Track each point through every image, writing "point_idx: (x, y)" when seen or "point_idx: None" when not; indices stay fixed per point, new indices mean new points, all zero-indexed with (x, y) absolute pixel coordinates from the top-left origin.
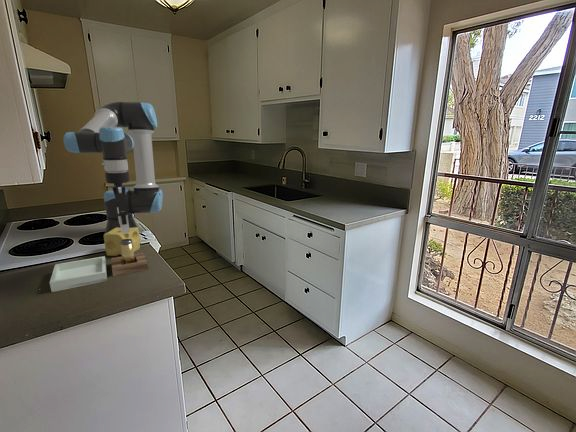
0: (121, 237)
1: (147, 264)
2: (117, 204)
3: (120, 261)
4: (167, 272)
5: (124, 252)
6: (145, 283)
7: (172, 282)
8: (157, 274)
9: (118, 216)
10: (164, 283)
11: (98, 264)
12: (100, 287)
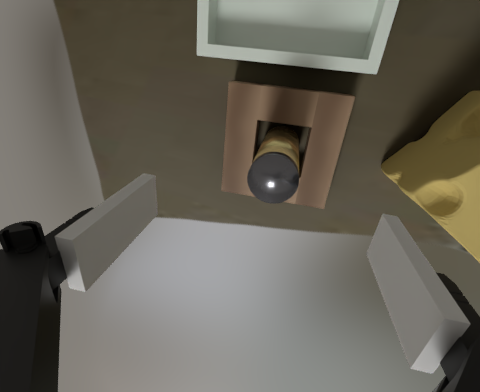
0: (440, 180)
1: (222, 188)
2: (466, 363)
3: (294, 123)
4: (181, 213)
5: (260, 148)
6: (143, 151)
7: None
8: (181, 191)
9: (402, 248)
10: None
11: (362, 41)
12: (171, 30)
